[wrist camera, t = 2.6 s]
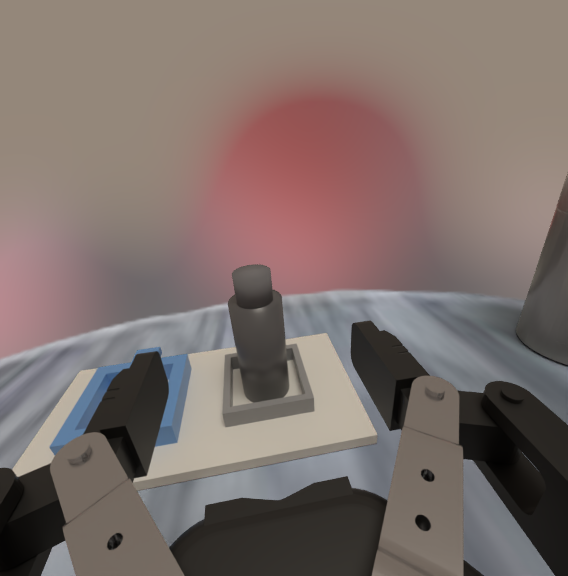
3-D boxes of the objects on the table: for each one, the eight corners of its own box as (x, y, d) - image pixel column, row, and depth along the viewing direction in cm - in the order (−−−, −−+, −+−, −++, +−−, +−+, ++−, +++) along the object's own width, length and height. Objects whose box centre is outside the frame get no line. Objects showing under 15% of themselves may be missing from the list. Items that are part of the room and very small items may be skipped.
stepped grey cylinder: (261, 365, 31) (246, 258, 26) (297, 378, 29) (289, 265, 23) (234, 394, 28) (210, 278, 22) (273, 411, 25) (257, 288, 20)
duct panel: (326, 339, 36) (326, 318, 34) (376, 443, 23) (379, 416, 22) (83, 377, 33) (72, 356, 31) (-10, 519, 20) (-34, 494, 19)
